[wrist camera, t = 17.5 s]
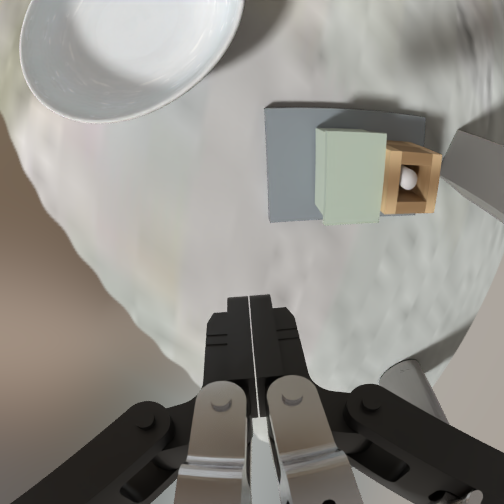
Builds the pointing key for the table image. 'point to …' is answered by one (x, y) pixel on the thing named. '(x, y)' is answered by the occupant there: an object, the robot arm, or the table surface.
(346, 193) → the block
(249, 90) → the table surface
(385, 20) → the table surface
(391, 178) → the sleeve
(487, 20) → the table surface
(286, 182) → the board
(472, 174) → the perfume bottle
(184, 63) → the serving bowl
